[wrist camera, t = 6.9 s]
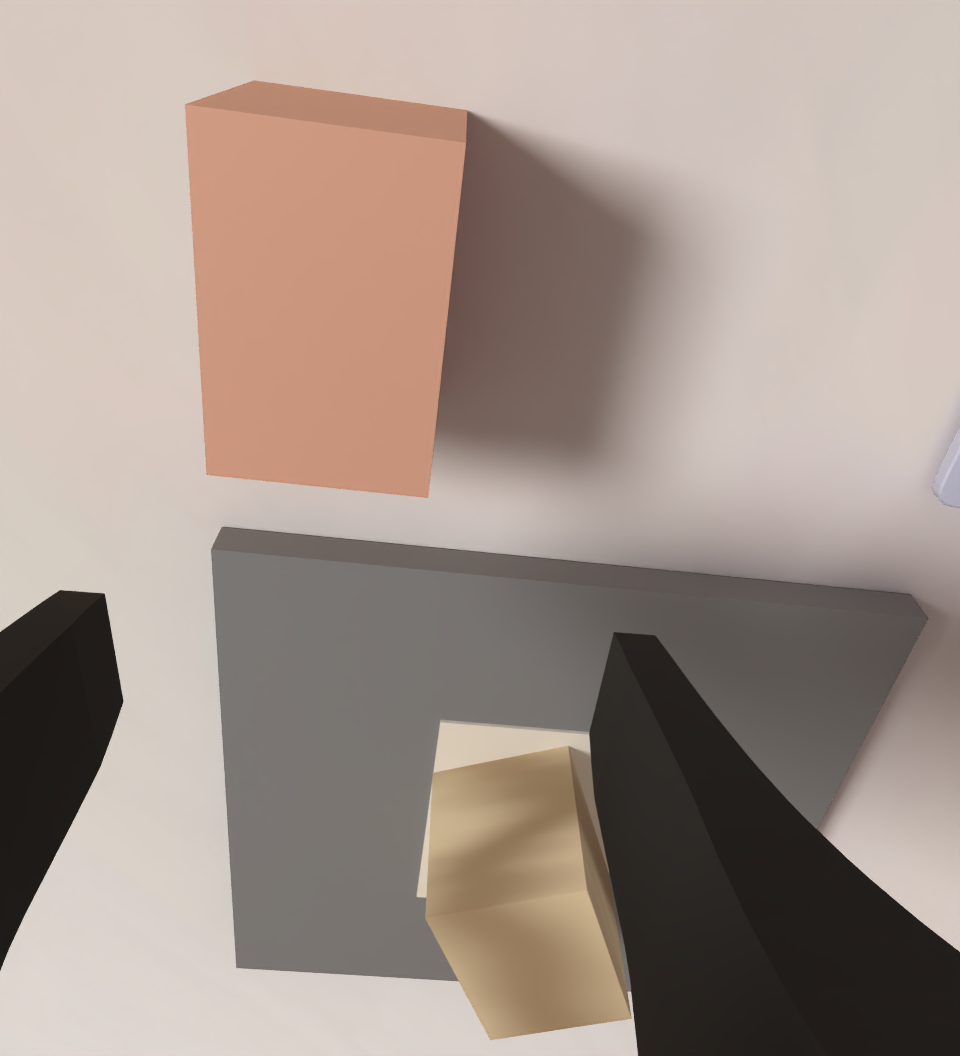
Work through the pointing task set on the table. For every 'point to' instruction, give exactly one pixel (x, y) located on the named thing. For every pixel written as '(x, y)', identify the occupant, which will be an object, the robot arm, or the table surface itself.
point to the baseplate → (482, 710)
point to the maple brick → (524, 896)
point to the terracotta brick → (322, 282)
